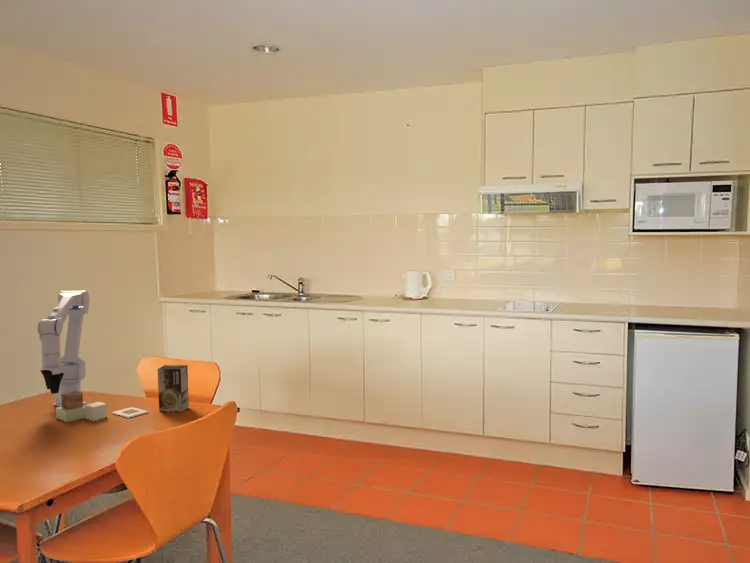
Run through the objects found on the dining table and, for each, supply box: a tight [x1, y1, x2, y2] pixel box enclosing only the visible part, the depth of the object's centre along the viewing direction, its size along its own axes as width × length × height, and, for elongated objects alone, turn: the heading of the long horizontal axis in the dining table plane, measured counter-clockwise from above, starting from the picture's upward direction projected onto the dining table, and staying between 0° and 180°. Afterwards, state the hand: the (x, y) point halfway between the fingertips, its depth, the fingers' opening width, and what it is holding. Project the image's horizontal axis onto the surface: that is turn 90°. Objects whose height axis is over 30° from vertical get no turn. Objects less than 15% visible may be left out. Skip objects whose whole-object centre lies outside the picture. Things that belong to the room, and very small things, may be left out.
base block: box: [55, 404, 86, 423], centre depth 210 cm, size 8×8×4 cm
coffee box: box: [157, 364, 190, 413], centre depth 219 cm, size 9×6×16 cm
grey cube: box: [84, 401, 108, 422], centre depth 209 cm, size 5×5×5 cm
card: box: [111, 406, 149, 419], centre depth 214 cm, size 10×8×1 cm
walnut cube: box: [61, 391, 84, 410], centre depth 210 cm, size 5×5×5 cm
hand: (52, 391), depth 209 cm, fingers open, 7 cm apart
